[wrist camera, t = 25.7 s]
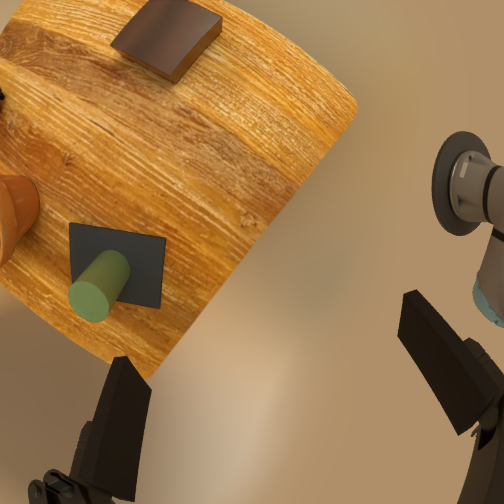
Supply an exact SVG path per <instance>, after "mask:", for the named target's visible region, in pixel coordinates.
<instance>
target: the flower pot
mask: <svg viewBox="0 0 504 504" xmlns="http://www.w3.org/2000/svg"><path fill="white" fill-rule="evenodd" d="M38 213H39V196H38V192H37V189H36V187H35V186H34V184H33V183H32V182H31V181H30V180H29V179H28V178H27V177H24V176H13V175H0V268H1V267H2V266H3V265H4V264H5V263H6V262H7V261H8V260H9V259H10V258H11V256H12V254H13V252H14V250H15V246H16V243H17V242H18V241H19V240H20V239H21V237H22V236H23V235H24V234H25V233H26V232H27V230H28V229H29V228H30V227H31V226H32V225H33V223H34V222H35V221H36V219H37V216H38Z"/></svg>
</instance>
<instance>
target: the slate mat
mask: <svg viewBox="0 0 504 504" xmlns="http://www.w3.org/2000/svg"><path fill="white" fill-rule="evenodd" d="M69 241H70V262H71V275H72V284H73V283H74V282H75V281H76V280H77V279H78V277H79V276H80V275H81V274H82V273H83V272H84V271H85V269H86V268H87V267H88V266H89V265H90V264H91V263H92V262H93V261H94V260H95V258H96V257H97V256H98V255H99V254H100V253H101V252H103V251H105V250H115V251H117V252H119V253H121V254H122V255H123V256H124V257H125V258H126V259H127V261H128V263H129V265H130V276H129V279H128V280H127V282H126V284H125V285H124V287H123V289H122V291H121V292H120V294H119V296H118V298H117V299H116V301H120V302H125V303H130V304H135V305H140V306H145V307H151V308H156V309H160V304H161V288H162V275H163V264H164V254H165V244H166V238H163V237H157V236H151V235H145V234H139V233H133V232H127V231H121V230H115V229H109V228H103V227H97V226H91V225H85V224H79V223H72V222H70V223H69Z"/></svg>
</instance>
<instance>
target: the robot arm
mask: <svg viewBox="0 0 504 504" xmlns="http://www.w3.org/2000/svg"><path fill="white" fill-rule="evenodd" d="M448 200H449V204H450V207H451V209H452V211H453V213H454V214H455V215H456V216H457V217H458V218H460V219H462V220H465V221H468V222H489V223H491V224H493V225H494V226H493V230H492V233H491V237H490V240H489V243H488V246H487V250H486V253H485V256H484V258H483V261H482V264H481V267H480V270H479V271H478V273H477V279H476V281H475V284H474V287H473V292H472V293H473V300H474V302H475V304H476V306H477V307H478V309H479V310H480V312H481V313H482V314H483V315H484V316H485V317H486V318H487V319H488V320H490V321H491V322H494V323H495V324H496V325H497V326H500V327H503V328H504V167H502V166H499V165H496V164H495V163H494V162H492V161H491V160H490V159H488V158H487V157H485V156H484V155H482V154H481V153H479V152H476V151H473V150H464V151H462V152H461V153H459V154H458V155H457V157H456V158H455V160H454V161H453V163H452V166H451V169H450V172H449V177H448ZM397 336H398V338H399V339H400V341H401V342H402V344H403V345H404V347H405V348H406V349H407V351H408V352H409V354H410V355H411V357H412V359H413V360H414V362H415V363H416V365H417V366H418V368H419V370H420V371H421V373H422V374H423V376H424V378H425V379H426V381H427V382H428V384H429V386H430V387H431V389H432V391H433V392H434V394H435V396H436V397H437V399H438V401H439V402H440V404H441V406H442V408H443V409H444V411H445V413H446V414H447V416H448V418H449V420H450V422H451V424H452V425H453V427H454V429H455V431H456V433H457V435H458V436H459V435H460V434H462V433H464V432H465V431H467V430H468V429H470V428H471V427H472V426H473V425H474V424H475V423H476V422H477V420H478V422H479V425H478V426H477V427H476V428H475V429H474V431H473V432H472V434H471V437H473V436H474V435H475V433H477V435H476V440H475V445H474V450H473V454H472V458H471V462H470V466H469V469H468V473H467V476H466V479H465V483H464V486H463V489H462V491H461V494H460V497H459V500H458V502H457V504H504V374H503V373H502V372H501V370H500V369H499V368H498V366H497V365H496V364H495V362H494V361H493V360H492V359H490V356H489V355H488V354H487V353H486V352H485V350H484V349H483V348H482V346H481V345H480V344H479V343H478V342H476V341H474V340H473V339H471V338H468V339H466V340H464V341H462V340H461V338H460V337H459V336H458V335H457V334H456V332H455V331H454V330H453V329H452V328H451V327H450V325H449V324H448V323H447V322H446V321H445V320H444V319H443V317H442V316H441V315H440V314H439V313H438V312H437V311H436V310H435V309H434V307H433V306H432V305H431V304H430V303H429V302H428V301H427V300H426V299H425V298H424V297H423V296H422V294H421V293H420V292H419V291H418V290H417V289H416V290H413V291H410V292H407V293H405V294H404V295H403V303H402V310H401V317H400V323H399V329H398V335H397ZM151 391H152V390H151V388H150V387H149V386H148V385H147V383H146V382H145V381H144V379H143V378H142V377H141V375H140V374H139V373H138V371H137V370H136V368H135V367H134V366H133V364H132V363H131V361H130V360H129V359H128V357H127V356H122V357H114V359H113V362H112V364H111V367H110V370H109V373H108V375H107V378H106V381H105V384H104V387H103V390H102V393H101V396H100V399H99V402H98V405H97V408H96V411H95V415H94V418H93V421H87V423H86V424H85V425H84V427H83V428H82V430H81V434H80V437H79V441H78V444H77V449H76V451H75V455H74V459H73V463H72V467H71V471H70V474H69V477H68V476H66V475H65V474H63V473H61V472H60V471H58V470H55V469H52V470H49V471H48V472H47V473H46V474H45V475H44V478H43V482H41V481H39V480H33V481H32V482H31V483H30V484H29V487H28V497H29V503H30V504H115V503H114V501H113V500H111V499H112V496H113V497H116V498H118V499H120V500H125V501H131V502H135V493H136V484H137V476H138V467H139V460H140V454H141V447H142V441H143V435H144V429H145V423H146V417H147V412H148V406H149V401H150V397H151Z"/></svg>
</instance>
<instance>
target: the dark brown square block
mask: <svg viewBox="0 0 504 504" xmlns="http://www.w3.org/2000/svg"><path fill="white" fill-rule="evenodd" d="M221 32H222V17H221V16H219V15H217V14H215V13H213V12H211V11H209V10H207V9H205V8H203V7H201V6H199V5H197V4H195V3H193V2H190V1H188V0H149V1H148V2H147V3H146V4H145V5H144V6H143V7H142V8H141V9H140V10H139V11H138V12H137V13H136V15H135V16H134V17H133V18H132V19H131V20H130V21H129V22H128V23H127V25H126V26H125V27H124V28H123V29H122V30H121V32H120V33H119V34H118V35H117V37H116V38H115V39H114V40H113V42H112V43H111V44H110V46H111V47H112V48H114V49H115V50H116V51H117V52H118V53H120V54H121V55H122V56H124V57H126V58H128V59H130V60H132V61H134V62H136V63H138V64H140V65H142V66H144V67H146V68H148V69H149V70H151V71H153V72H155V73H157V74H159V75H160V76H162V77H164V78H166V79H167V80H169V81H171V82H173V83H174V84H177V82H178V81H179V80H180V79H181V77H182V76H183V75H184V74H185V72H186V71H187V70H188V69H189V68H190V66H191V65H192V64H193V63H194V62H195V60H196V59H197V58H198V57H199V56H200V55H201V54H202V52H203V51H204V50H205V49H206V48H207V47H208V46H209V45H210V44H211V43H212V41H213V40H214V39H215V38H216V37H217V36H218V35H219V34H220V33H221Z"/></svg>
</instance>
